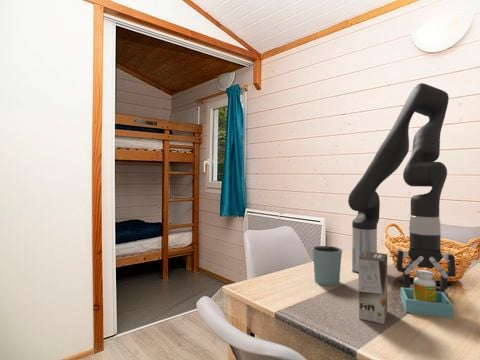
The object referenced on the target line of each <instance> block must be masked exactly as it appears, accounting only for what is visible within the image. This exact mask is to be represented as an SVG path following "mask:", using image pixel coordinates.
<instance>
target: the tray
mask: <svg viewBox="0 0 480 360" xmlns="http://www.w3.org/2000/svg"><path fill="white" fill-rule="evenodd" d="M400 301H401V303H402V306H403V308H404V312H405V313H410V314H417V315H425V316H430V317H439V318H446V319H454V305H453V303H452V302H451V301H450V300H449V297H448V298H447V297H446V296H445V294H444V293H443V292H437V291H436V302H428V301H420V300H414V289H411V288H409V287H400Z"/></svg>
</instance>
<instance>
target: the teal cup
mask: <svg viewBox="0 0 480 360" xmlns="http://www.w3.org/2000/svg"><path fill="white" fill-rule="evenodd" d="M312 255H313V269H314V270H313V271H314V281H315V283H316V284H317V283H318V284H317V285H320V286H324V287H335V285H336V286H338V285H339V284H340V280H341V277H340V275H341V266H342V265H341V264H342V262H341V261H342V255H343V249H342V248H340V247H336V246H330V245H317V246H316V245H315V246H313V247H312Z"/></svg>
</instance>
